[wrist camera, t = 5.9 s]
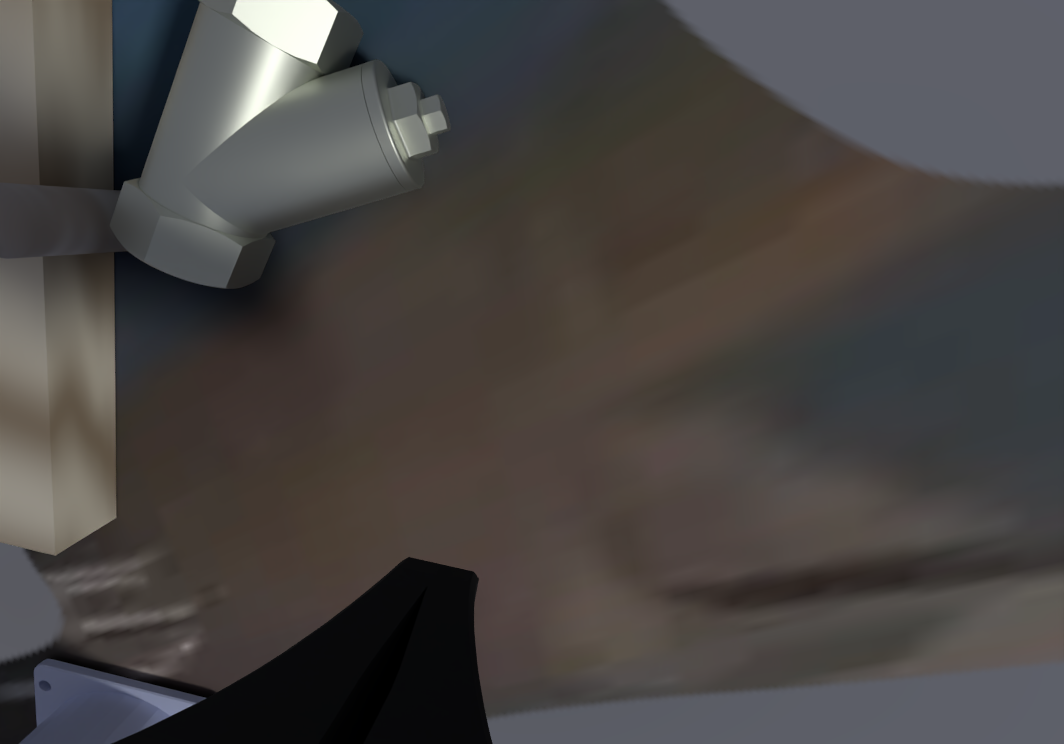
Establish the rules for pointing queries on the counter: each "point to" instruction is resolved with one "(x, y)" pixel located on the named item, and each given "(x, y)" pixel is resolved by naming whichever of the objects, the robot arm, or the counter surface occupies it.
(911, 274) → the counter surface
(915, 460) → the counter surface
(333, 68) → the pipe fitting
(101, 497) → the light wooden bar
